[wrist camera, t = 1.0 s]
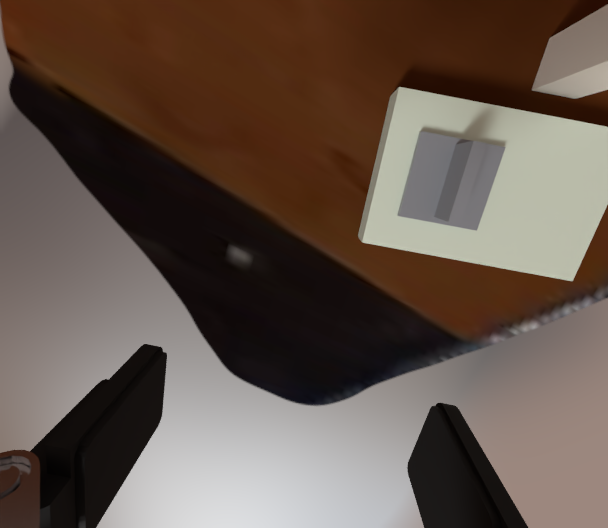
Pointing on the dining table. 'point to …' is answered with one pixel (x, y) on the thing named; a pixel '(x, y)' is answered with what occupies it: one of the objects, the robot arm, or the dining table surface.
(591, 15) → the plug
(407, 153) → the socket board
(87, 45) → the dining table surface
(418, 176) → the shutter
